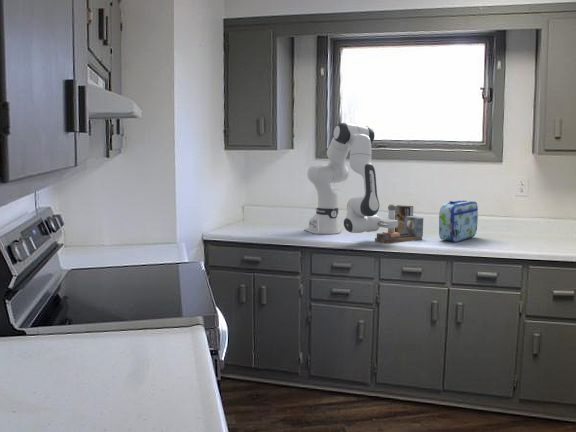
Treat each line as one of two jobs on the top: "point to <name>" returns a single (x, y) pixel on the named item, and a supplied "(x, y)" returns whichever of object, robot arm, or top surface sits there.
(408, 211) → the coffee box
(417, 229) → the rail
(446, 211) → the lunch box
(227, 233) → the top surface
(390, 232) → the white column brown base
